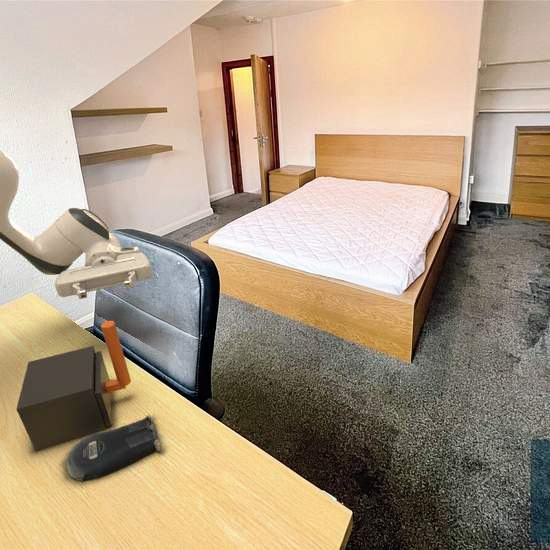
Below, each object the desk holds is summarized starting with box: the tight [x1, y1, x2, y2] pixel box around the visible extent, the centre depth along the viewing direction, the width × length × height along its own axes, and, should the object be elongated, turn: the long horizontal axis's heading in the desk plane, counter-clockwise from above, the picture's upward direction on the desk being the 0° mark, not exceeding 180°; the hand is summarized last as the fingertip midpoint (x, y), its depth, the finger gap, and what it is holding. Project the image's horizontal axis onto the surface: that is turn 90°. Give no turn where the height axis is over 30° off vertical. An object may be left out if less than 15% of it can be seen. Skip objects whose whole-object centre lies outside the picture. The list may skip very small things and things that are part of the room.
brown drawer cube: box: [15, 345, 107, 452], centre depth 79 cm, size 12×14×11 cm
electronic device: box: [65, 413, 161, 482], centre depth 72 cm, size 9×6×15 cm
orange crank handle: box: [94, 320, 132, 428], centre depth 78 cm, size 16×14×18 cm
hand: (105, 290), depth 87 cm, fingers open, 8 cm apart
